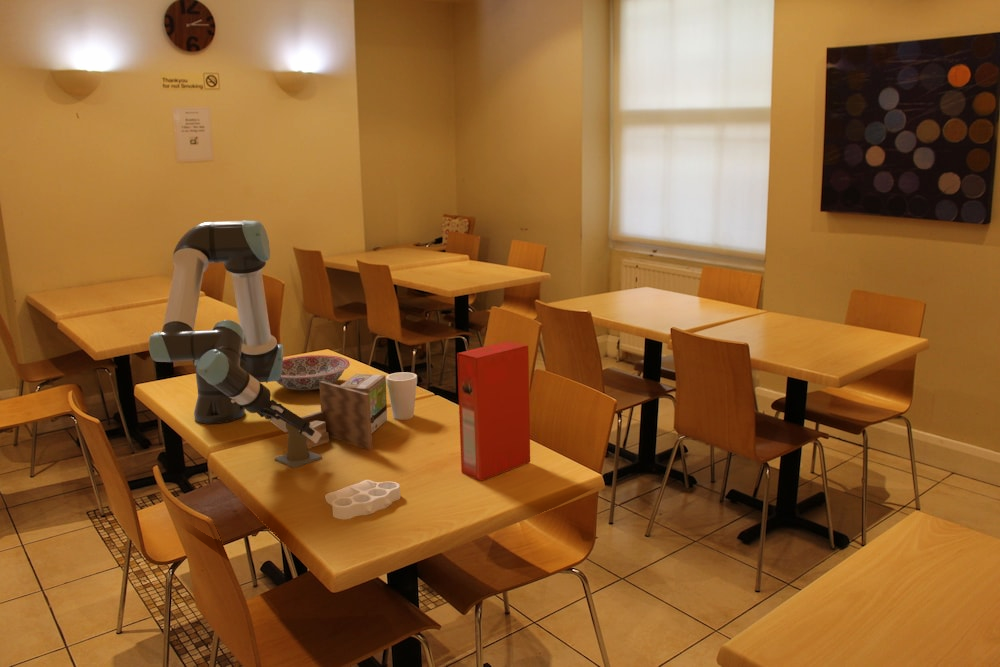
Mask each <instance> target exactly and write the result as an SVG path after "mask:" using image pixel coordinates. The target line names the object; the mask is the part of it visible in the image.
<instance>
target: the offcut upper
mask: <svg viewBox="0 0 1000 667" xmlns="http://www.w3.org/2000/svg"><path fill="white" fill-rule="evenodd" d="M309 423H310V426H311V427H312V428H314V429H315V430H316V431H318V432H319V433H320V434H323V433H325V432H326V422H323V421H317V420H313V421H311V422H309ZM305 437H306V436H305Z"/></svg>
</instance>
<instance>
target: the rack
mask: <svg viewBox="0 0 1000 667" xmlns="http://www.w3.org/2000/svg"><path fill="white" fill-rule="evenodd" d="M319 388H320V389H319V397H320V398H319V400H320V411H317V412H315V413H311V414H308V415H304V416H300V417H301V418H303V419H304V420H305V421H307V422H311V421H313V420H317V421H323V422H326V432H328V436H329V437H330V438H333V439H336V440H339V441H342V442H345V443H348V444H350V445H353V446H356V447H359V448H362V449H366V450H368V451H370V450H373V437H372V436H373V435H372V434H373V433H372V432H371V415H370V397H369V394H367V393H364V392H360V391H357V390H353V389H350V388H346V387H343V386H340V385H339V384H335V383H333V384H332V383H328V382H325V381H320V382H319Z"/></svg>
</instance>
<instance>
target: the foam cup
mask: <svg viewBox="0 0 1000 667" xmlns="http://www.w3.org/2000/svg"><path fill="white" fill-rule="evenodd" d="M417 384H418V375H417V374H416V373H413V372H408V371H406V372H403V371H402V372H394V373H390V374H388V375H386V388H387V390H388V398H389V401H390V408H391V413H392V417H393V419H395V420H398V421H399V420H400V421H404V420H405V421H406V420H410V419H412V418H414V416H415V415H414V414H415V406H416V392H417Z"/></svg>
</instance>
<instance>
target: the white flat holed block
mask: <svg viewBox="0 0 1000 667" xmlns="http://www.w3.org/2000/svg"><path fill="white" fill-rule="evenodd" d="M324 496H325V501H326V503H328V504H329V505H330V506H331V507H332V516H333V518H336V519H338V520H350V519H352V518H355V517H357V516H367V515H371V514H374V513H376V512H377V511H379V510H380V511H381V510H384V509H387V508H388V507H390V505H392V504H393V503H394V502H395V501H399V500H400V499H401V485H400V483H398V482H395V481H389V480H388V481H387V480H385V481H381V482H379V481H378V482H377V481H373V480H371V479H368V478H366V479H364V480H362V481H361V482H357V483H355V484H351V485H347V486H345V487H343V488H340V489H338V490H334V491H330V492H328V493H326V494H325V495H324Z"/></svg>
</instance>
